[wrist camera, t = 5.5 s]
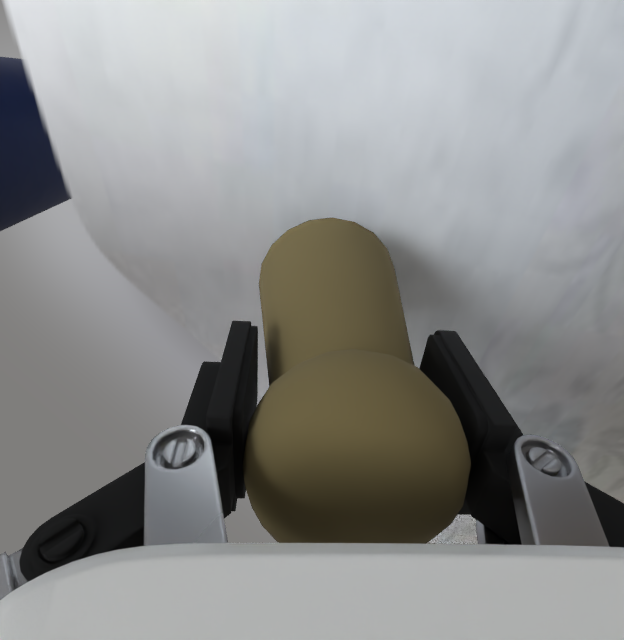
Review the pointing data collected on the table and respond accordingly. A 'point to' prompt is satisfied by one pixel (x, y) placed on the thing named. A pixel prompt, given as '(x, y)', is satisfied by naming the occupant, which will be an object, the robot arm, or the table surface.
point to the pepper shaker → (347, 401)
